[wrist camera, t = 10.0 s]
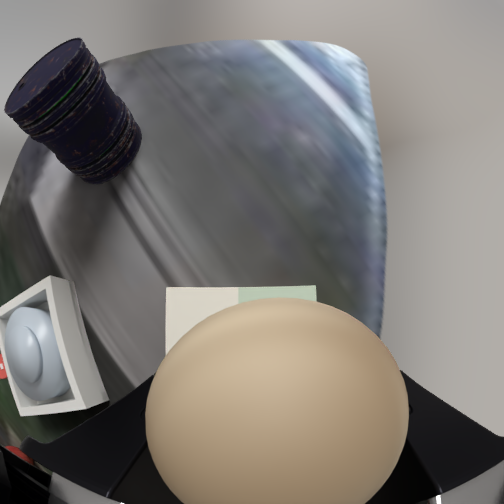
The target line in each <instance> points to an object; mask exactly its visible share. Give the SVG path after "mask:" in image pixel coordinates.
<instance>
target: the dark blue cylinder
mask: <svg viewBox="0 0 504 504" xmlns="http://www.w3.org/2000/svg"><path fill="white" fill-rule="evenodd" d="M4 111H5V113H6V114H7V115H8V116H9V117H10V118H13V120H14V121H15V122H16V123H17V124H18V125H19V127H20V128H21V129H22V130H23V131H24V132H25V133H27V134H29V135H30V136H31V138H32V139H33V140H36V141H37V142H40V143H43V144H44V145H45V146H47V147H48V148H49V149H50V150H51V151H52V152H53V153H55V155H56V157H57V159H58V160H59V161H60V162H61V163H62V164H64V165H65V166H66V167H67V168H68V169H69V170H70V171H71V172H73V173H74V174H77V175H78V176H80V178H82V179H83V180H84V181H85V182H87V183H89V184H100V183H104V182H107V181H109V180H111V179H113V178H114V177H116V176H117V175H118V174H120V173H121V172H122V171H123V170H124V169H125V168H126V167H127V166H128V165H129V164H130V163H131V161H132V160H133V159H134V157H135V156H136V154H137V152H138V150H139V147H140V144H141V139H142V134H141V130H140V127H139V126H138V124H137V123H136V122H135V120H134V118H133V116H132V114H131V112H130V111H129V109H128V108H127V106H126V105H125V103H124V102H123V101H122V100H121V98H120V97H118V96H116V95H115V94H114V92H113V91H112V89H111V88H110V86H109V85H108V83H107V82H106V76H105V74H104V70H103V69H102V68H100V66H99V63H98V62H97V60H96V59H95V57H94V56H93V55H92V54H91V53H90V51H89V50H88V48H86V45H85V43H84V42H83V40H82V39H81V38H74V39H71V40H68V41H66V42H64V43H62V44H60V45H59V46H57V47H55V48H54V49H52V50H51V51H50V52H48V53H47V54H46V55H44V56H43V57H42V58H41V59H40V60H39V61H37V62H36V63H35V64H34V65H33V66H32V67H31V68H30V69H29V70H28V71H27V72H26V74H25V75H24V76H23V77H22V78H21V80H20V81H19V82H18V83H17V85H16V86H15V88H14V89H13V91H12V92H11V94H10V96H9V98H8V100H7V102H6V105H5V109H4Z"/></svg>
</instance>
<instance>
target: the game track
mask: <svg viewBox="0 0 504 504" xmlns="http://www.w3.org/2000/svg"><path fill="white" fill-rule="evenodd" d="M278 297H281V298H299V299H305V300H310V301H316V286H286V287H225V288H192V287H167V289H166V355H167V353H168V352H169V351H170V349H171V348H172V347H173V346H174V345H175V344H176V343H177V342H178V340H179V339H180V338H181V337H182V336H183V335H184V334H186V333H187V332H188V331H189V330H190V329H192V328H193V327H194V326H195V325H196V324H198V323H199V322H201V321H203V320H204V319H206V318H207V317H209V316H210V315H212V314H215V313H217V312H219V311H221V310H223V309H225V308H228V307H231V306H234V305H237V304H240V303H243V302H248V301H253V300H257V299H265V298H278Z"/></svg>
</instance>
